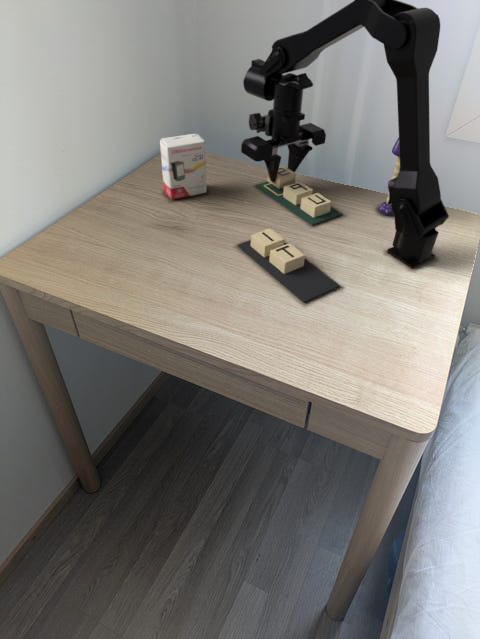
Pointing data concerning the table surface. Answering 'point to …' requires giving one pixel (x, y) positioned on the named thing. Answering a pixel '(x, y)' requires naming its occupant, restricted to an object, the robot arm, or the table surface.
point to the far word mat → (296, 208)
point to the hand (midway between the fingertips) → (281, 179)
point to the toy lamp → (386, 207)
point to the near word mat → (297, 278)
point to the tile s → (283, 177)
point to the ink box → (183, 165)
